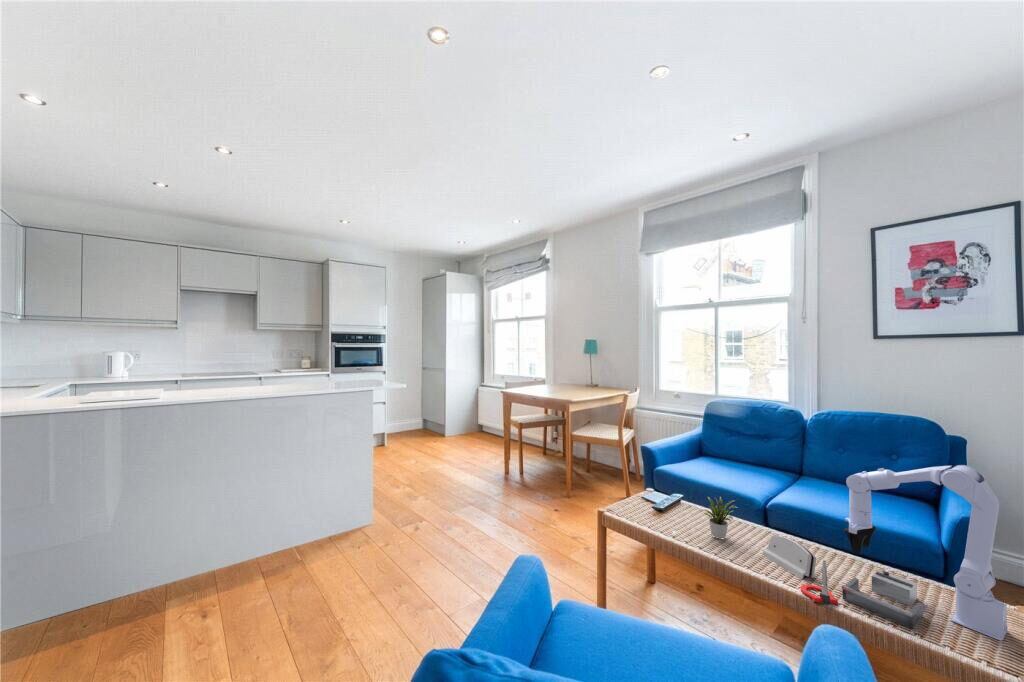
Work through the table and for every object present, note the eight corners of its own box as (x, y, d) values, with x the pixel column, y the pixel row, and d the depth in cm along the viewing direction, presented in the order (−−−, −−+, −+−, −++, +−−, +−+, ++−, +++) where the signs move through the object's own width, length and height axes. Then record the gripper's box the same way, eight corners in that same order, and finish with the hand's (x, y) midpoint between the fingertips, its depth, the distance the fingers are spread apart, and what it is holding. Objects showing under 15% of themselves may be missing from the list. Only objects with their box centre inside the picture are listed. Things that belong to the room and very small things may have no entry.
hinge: (761, 554, 153) (768, 528, 154) (771, 557, 154) (778, 531, 155) (802, 579, 137) (810, 550, 138) (813, 582, 138) (820, 553, 139)
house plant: (747, 538, 166) (747, 498, 166) (733, 549, 157) (733, 507, 157) (711, 526, 177) (711, 488, 177) (697, 535, 168) (697, 496, 168)
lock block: (916, 599, 127) (916, 581, 127) (909, 606, 123) (909, 588, 123) (879, 584, 135) (879, 567, 135) (871, 591, 131) (871, 574, 131)
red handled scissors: (795, 586, 134) (811, 603, 125) (794, 546, 135) (810, 560, 125) (823, 589, 133) (841, 606, 123) (822, 549, 133) (840, 562, 124)
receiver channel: (923, 616, 119) (922, 601, 119) (911, 629, 113) (911, 614, 113) (854, 588, 132) (854, 575, 132) (841, 599, 127) (841, 585, 127)
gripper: (853, 501, 146) (853, 538, 145) (837, 509, 138) (837, 550, 138) (879, 507, 140) (879, 547, 139) (863, 517, 132) (864, 559, 132)
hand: (860, 549), depth 138 cm, fingers open, 7 cm apart
